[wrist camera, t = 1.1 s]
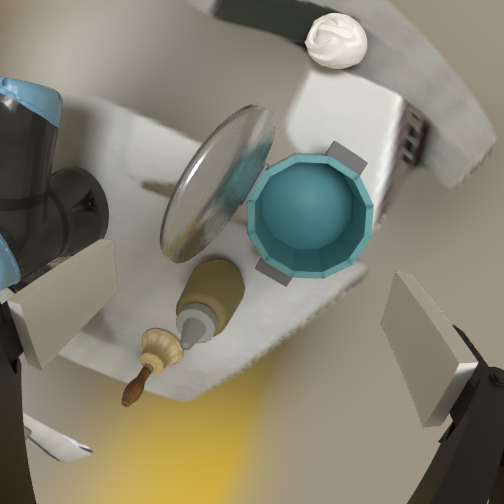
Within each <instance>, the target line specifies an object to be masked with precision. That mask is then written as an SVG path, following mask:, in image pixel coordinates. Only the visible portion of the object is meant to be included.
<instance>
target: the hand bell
mask: <svg viewBox="0 0 504 504" xmlns="http://www.w3.org/2000/svg"><path fill="white" fill-rule="evenodd" d="M142 346H143V349H144V351H143V353H142V355H141V358H140V361H141V364H142V366H143V368H142V370H141V371H140V373H139V375H138V376H137V377H136V378H135V379H133V380H132V381H131V382H130V383H129V384H128V385H127V387H126V388H125V390H124V393H123V399H122V402H121V403H122V405H124V406H125V407H129V406H130V405H131V404H132V403H134V402H135V401H136V400H137V399H138V398H139V397H140V395H141V394H142V392H143V389H144V384H145V381H146V380H147V378H148V377H149V376H150V374H151V373H160V372H162V371H163V369H164V368H165V367H166V366H167V365H173V364H176V363H178V362H179V361H180V360H181V359H182V357H183V349H182V348H181V346H180V341H179V340H178V339H177V338H176V337H175V336H174V335H173V334H171V333H170V332H168V331H166V330H163V329H159V328H153V329H149V330H148V331H146V332H145V333H144V335H143V337H142Z"/></svg>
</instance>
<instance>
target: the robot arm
mask: <svg viewBox="0 0 504 504" xmlns="http://www.w3.org/2000/svg"><path fill="white" fill-rule="evenodd" d="M62 106H63V99H62V96H61V95H60V93H59V92H58V91H56V90H54V89H51V88H49V87H45V86H42V85H39V84H35V83H31V82H27V81H22V80H18V79H10V78H4V77H0V290H3V289H5V288H7V287H9V286H10V285H12V284H17V283H18V282H19V281H20V280H22V279H23V278H25V277H27V276H28V275H30V274H31V273H33V272H34V271H36V270H38V269H39V268H41V267H42V266H44V265H46V264H47V263H49V262H51V261H52V260H54V259H56V258H57V257H66V256H72V257H70V258H69V259H67V260H66V261H64V262H62V263H61V264H59V265H58V266H56V267H55V268H53V269H52V270H50V271H49V272H47V273H46V274H44V275H42V276H41V277H39V278H38V279H37V280H35V281H34V282H32V283H31V284H29V285H28V286H26V287H25V288H23V289H22V290H20V291H19V292H18V293H16V294H15V295H13V296H12V297H10V298H9V299H8V300H7V301H6V302H4V303H3V304H1V303H0V504H36V500H35V495H34V491H33V486H32V481H31V476H30V471H29V465H28V458H27V451H26V445H25V435H24V425H23V412H22V390H21V362H20V359H19V356H20V355H21V354H22V353H23V352H24V354H25V357H26V359H27V362H28V364H29V365H31V366H33V367H36V368H38V369H40V370H43V369H44V368H45V367H46V365H48V363H49V362H50V361H51V360H52V359H53V358H54V357H55V356H56V355H57V354H58V353H59V352H60V351H61V350H62V348H63V347H64V346H65V345H66V344H67V343H68V342H69V341H70V340H71V339H72V338H73V337H74V336H75V335H76V334H77V333H78V332H79V331H80V330H81V329H82V328H83V327H84V326H85V325H86V323H87V322H88V321H89V320H90V319H91V318H92V317H93V316H94V315H95V314H96V313H97V312H98V311H99V310H100V309H101V308H102V307H103V306H104V305H105V304H106V303H107V302H108V301H109V300H110V299H111V298H112V297H113V296H115V295H116V294H117V293H118V284H117V274H116V264H115V252H114V240H106V239H103V237H104V235H105V233H106V230H107V225H108V206H107V201H106V197H105V194H104V192H103V190H102V188H101V186H100V184H99V183H98V181H97V180H96V179H95V178H94V177H93V176H92V175H91V174H90V173H88V172H87V171H85V170H83V169H80V168H75V167H72V168H66V169H61V170H58V171H56V172H54V173H53V174H51V168H52V162H53V156H54V150H55V145H56V139H57V134H58V130H60V125H59V122H60V116H61V111H62ZM381 325H382V327H383V329H384V332H385V334H386V336H387V338H388V341H389V343H390V345H391V348H392V350H393V352H394V354H395V357H396V359H397V362H398V364H399V367H400V369H401V371H402V374H403V376H404V379H405V381H406V384H407V386H408V389H409V391H410V394H411V397H412V399H413V402H414V405H415V407H416V410H417V413H418V415H419V418H420V421H421V423H422V427H423V428H424V427H432V426H440V425H442V423H443V422H444V421H445V419H446V417H447V416H448V414H449V413H450V415H451V417H452V419H453V422H452V423H451V425H450V426H449V428H448V429H447V431H446V432H445V433H444V435H443V436H442V438H441V439H440V440H439V441H438V442H439V443H441V444H440V447H439V448H438V451H437V452H436V454H435V456H434V458H433V460H432V462H431V464H430V466H429V468H428V470H427V471H426V473H425V475H424V477H423V478H422V480H421V482H420V483H419V485H418V487H417V488H416V490H415V492H414V493H413V495H412V497H411V498H410V500H409V501H408V503H407V504H487V501H488V499H489V503H488V504H504V370H502V369H500V368H497V367H488V365H487V364H486V362H485V361H484V360H483V358H482V357H481V355H480V354H479V352H478V351H477V350H476V348H474V345H473V344H472V343H471V342H469V339H468V337H467V336H466V335H465V333H464V332H463V331H461V330H460V329H459V328H457V327H456V326H454V325H451V323H450V322H449V321H448V319H447V318H446V317H445V316H444V315H443V313H442V312H441V310H440V309H439V308H438V307H437V305H436V304H435V303H434V301H433V300H432V299H431V298H430V296H429V295H428V294H427V293H426V291H425V290H424V289H423V288H422V287H421V285H420V284H419V283H418V282H417V280H416V279H415V278H414V277H413V276H412V274H411V273H409V272H400V271H395V275H394V278H393V282H392V286H391V289H390V293H389V297H388V300H387V304H386V307H385V311H384V314H383V318H382V321H381Z"/></svg>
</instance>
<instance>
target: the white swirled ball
mask: <svg viewBox="0 0 504 504" xmlns="http://www.w3.org/2000/svg"><path fill="white" fill-rule="evenodd" d="M305 44H306V47H307V51H308V54H309V55H310V56H311V57H312V59H313V60H315V61H316V62H317V63H318V64H320V65H321V66H326V67H329V68H333V69H343V68H348V67H351V66H353V65H355V64H358V63H359V62H360V61H361V60H362V58H363V57H364V55H365V53H366V50H367V38H366V34H365V32H364V30H363V28H362V27H361V25H360V24H359V23H358V22H357V21H355V20H354V19H352V18H351V17H349V16H347V15H344V14H338V13H331V14H328V15H326V16H322V17H320V18H318V19H317V20H315V21H314V22H313V25H312V28H311V30H310V31H309V33H308V36H307V39H306V41H305Z"/></svg>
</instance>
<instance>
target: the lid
mask: <svg viewBox="0 0 504 504" xmlns="http://www.w3.org/2000/svg"><path fill="white" fill-rule="evenodd" d="M275 129H276V116H275V113H274V112H273V111H272V110H271V109H269V108H267V107H265V106H263V105H261V104H251V105H248V106H246V107H244V108H242V109H240V110H238V111H237V112H235V113H234V114H232V115H231V116H230V117H229V118H227V119H226V120H225V121H224V122H223V123H222V124H221V125H219V126H218V127H217V128H216V130H215V131H214V132H213V133H212V134H211V135H210V136H209V137H208V138H207V139H206V141H205V142H204V143H203V144H202V146H201V147H200V148H199V150H198V151H197V152H196V154H195V155H194V157H193V158H192V159H191V161H190V162H189V164H188V166H187V167H186V169H185V171H184V172H183V174H182V176H181V178H180V179H179V181H178V183H177V185H176V187H175V189H174V192H173V194H172V196H171V198H170V201H169V203H168V206H167V209H166V212H165V215H164V218H163V222H162V227H161V233H160V245H161V250H162V252H163V254H164V255H165V256H166V257H167V258H169V259H170V260H171V261H173V262H175V263H183V262H186V261H188V260H190V259H191V258H193V257H194V256H196V255H197V254H198V253H200V252H201V251H202V250H203V249H204V248H205V247H206V246H207V245H208V244H209V243H210V242H211V241H212V240H213V239H214V238H215V237H216V236H217V235H218V233H219V232H220V231H221V230H222V229H223V227H224V226H225V225H226V224H227V222H228V221H229V220H230V218H231V217H232V216H233V214H234V213H235V211H236V210H237V209H238V207H239V206H240V205H242V204H243V203H244V201H245V199H246V197H247V196H248V194H249V192H250V190H251V189H252V187H253V185H254V184H255V182H256V180H257V178H258V177H259V175H260V173H261V172H262V170H263V168H264V167H265V165H264V162H265V160H266V157H267V155H268V153H269V150H270V148H271V145H272V142H273V138H274V135H275Z"/></svg>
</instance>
